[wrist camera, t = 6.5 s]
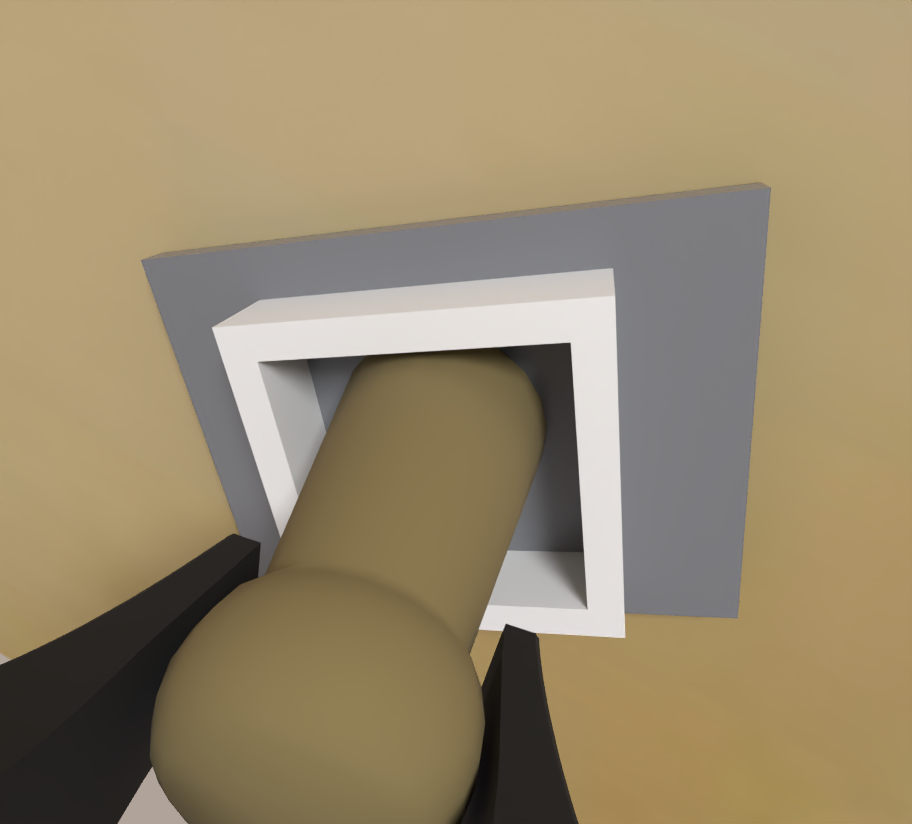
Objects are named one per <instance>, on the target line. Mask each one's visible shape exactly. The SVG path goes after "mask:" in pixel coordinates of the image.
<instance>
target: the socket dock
mask: <svg viewBox="0 0 912 824" xmlns="http://www.w3.org/2000/svg"><path fill="white" fill-rule="evenodd" d="M770 192H771V187H769V186H767V185H765V184H763V183H753V184H744V185H735V186H727V187H718V188H710V189H701V190H693V191H684V192H676V193H667V194H659V195H650V196H642V197H633V198H625V199H616V200H608V201H599V202H591V203H582V204H574V205H565V206H557V207H548V208H540V209H531V210H523V211H514V212H506V213H497V214H489V215H480V216H472V217H463V218H455V219H446V220H438V221H429V222H421V223H412V224H404V225H395V226H387V227H378V228H370V229H361V230H353V231H344V232H336V233H327V234H319V235H310V236H302V237H293V238H285V239H276V240H268V241H259V242H251V243H242V244H234V245H225V246H217V247H208V248H200V249H191V250H183V251H174V252H166V253H160V254H158V255H155V256H152V257H149V258H146V259H143V260H141V262H142V265H143V267H144V270H145V273H146V276H147V278H148V281H149V284H150V287H151V290H152V292H153V295H154V298H155V301H156V303H157V306H158V309H159V312H160V314H161V317H162V320H163V323H164V325H165V328H166V331H167V334H168V337H169V339H170V342H171V345H172V348H173V350H174V353H175V356H176V359H177V361H178V364H179V367H180V370H181V373H182V375H183V378H184V381H185V384H186V386H187V389H188V392H189V395H190V397H191V400H192V403H193V406H194V409H195V411H196V414H197V417H198V420H199V422H200V425H201V428H202V431H203V433H204V436H205V439H206V442H207V444H208V447H209V450H210V453H211V456H212V458H213V461H214V464H215V467H216V469H217V472H218V475H219V478H220V480H221V483H222V486H223V489H224V492H225V494H226V497H227V500H228V503H229V505H230V508H231V511H232V514H233V516H234V519H235V522H236V525H237V528H238V530H239V533H240V536H242V537H245V538H248V539H251V540H254V541H257V542H260V543H261V548H260V561H259V573H258V577H261V576H264V575H265V573H266V571H267V568H268V566H269V564H270V562H271V559H272V557H273V555H274V552H275V550H276V548H277V545H278V543H279V541H280V538H281V536H282V534H283V532H284V529H285V527H286V525H287V522H288V520H289V518H290V515H291V513H292V511H293V508H294V506H295V504H296V501H297V499H298V497H299V495H300V492H301V490H302V488H303V485H304V483H305V481H306V478H307V476H308V474H309V471H310V469H311V467H312V465H313V462H314V460H315V458H316V455H317V453H318V451H319V448H320V446H321V444H322V441H323V439H324V437H325V434H326V432H327V430H328V428H329V425H330V423H331V421H332V418H333V416H334V414H335V411H336V409H337V407H338V404H339V402H340V400H341V398H342V395H343V393H344V391H345V388H346V386H347V384H348V381H349V379H350V377H351V374H352V372H353V370H354V369H355V368H356V367H357V366H358V364H359V363H360V362H361V361H362V360H363V359H364V357H365V356H366V355H376V354H392V353H408V352H424V351H441V350H457V349H473V348H489V347H496V348H498V349H499V350H501V351H502V352H503V353H504V354H505V355H506V356H507V357H509V358H510V359H511V360H512V361H513V362H514V363H515V364H517V365H518V366H519V367H520V368H521V369H522V370H523V371H525V373H526V375H527V376H528V378H529V380H530V381H531V383H532V385H533V386H534V388H535V390H536V391H537V393H538V395H539V396H540V398H541V401H542V406H543V411H544V415H545V420H546V425H547V432H546V437H545V443H544V449H543V455H542V458H541V461H540V463H539V466H538V469H537V472H536V474H535V477H534V480H533V483H532V485H531V488H530V491H529V493H528V496H527V499H526V502H525V504H524V507H523V510H522V513H521V515H520V518H519V521H518V523H517V526H516V529H515V532H514V534H513V537H512V540H511V543H510V545H509V548H508V551H507V554H506V556H505V559H504V562H503V564H502V567H501V570H500V573H499V575H498V578H497V581H496V584H495V586H494V589H493V592H492V594H491V597H490V600H489V603H488V605H487V608H486V611H485V614H484V616H483V619H482V622H481V625H480V627H479V630H496V631H503V629H504V627H505V624H509V625H512V626H515V627H518V628H521V629H524V630H527V631H530V632H533V633H549V634H566V635H584V636H601V637H619V638H625V616H624V613H634V614H655V615H676V616H698V617H719V618H738V607H739V594H740V581H741V568H742V555H743V542H744V529H745V516H746V503H747V490H748V478H749V465H750V452H751V439H752V426H753V413H754V400H755V387H756V374H757V361H758V348H759V335H760V322H761V309H762V296H763V283H764V270H765V257H766V244H767V231H768V218H769V205H770Z"/></svg>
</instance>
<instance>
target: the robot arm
mask: <svg viewBox="0 0 912 824" xmlns="http://www.w3.org/2000/svg"><path fill="white" fill-rule="evenodd" d="M260 548H261V543H260V542H257V541H254V540H251V539H248V538H245V537H242V536H239V535H236V534H232V535H230V536H228V537H226V538H225V539H223V540H222V541H220V542H219V543H217V544H216V545H214V546H213V547H211V548H210V549H208V550H207V551H205V552H204V553H202V554H201V555H199V556H198V557H196V558H195V559H193V560H192V561H190V562H189V563H187V564H185V565H184V566H182V567H181V568H179V569H178V570H176V571H175V572H173V573H171V574H170V575H168V576H167V577H165V578H163V579H162V580H160V581H159V582H157V583H155V584H154V585H152V586H150V587H149V588H147V589H146V590H144V591H142V592H141V593H139V594H137V595H136V596H134V597H132V598H131V599H129V600H127V601H126V602H124V603H122V604H120V605H118V606H117V607H115V608H113V609H111V610H109V611H108V612H106V613H104V614H102V615H101V616H99V617H97V618H95V619H93V620H92V621H90V622H88V623H86V624H84V625H82V626H81V627H79V628H77V629H75V630H73V631H71V632H69V633H67V634H65V635H63V636H61V637H59V638H57V639H55V640H53V641H51V642H49V643H47V644H45V645H43V646H41V647H39V648H37V649H34V650H32V651H30V652H28V653H26V654H24V655H22V656H20V657H17V658H15V659H13V660H10V661H8V662H6V663H4V664H1V665H0V824H118V822H119V820H120V818H121V817H122V815H123V813H124V812H125V810H126V808H127V807H128V805H129V803H130V802H131V800H132V798H133V797H134V795H135V793H136V792H137V790H138V788H139V787H140V785H141V783H142V782H143V780H144V778H145V777H146V775H147V774H148V772H149V771H150V769H151V768H152V763H151V760H150V740H151V722H152V717H153V711H154V706H155V701H156V696H157V693H158V691H159V688H160V685H161V683H162V680H163V678H164V675H165V673H166V670H167V667H168V665H169V662H170V660H171V658H172V657H173V655H174V654H175V653H176V651H177V650H178V648H179V647H180V646H181V644H182V643H183V642H184V640H185V639H186V637H187V636H188V635H189V633H190V632H191V630H192V629H193V628H194V627H195V626H196V625H197V624H198V623H199V622H200V621H201V620H202V619H203V618H204V617H205V616H206V615H207V614H208V613H209V612H210V611H211V610H212V609H213V608H214V607H215V606H216V605H217V604H218V603H219V602H220V601H222V600H223V599H224V598H225V597H226V596H227V595H229V594H230V593H231V592H232V591H233V590H234V589H236V588H237V587H238V586H239V585H240V584H243V583H245V582H248V581H251V580H253V579H256V578H258V573H259V561H260ZM481 688H482V697H483V707H484V717H485V727H484V735H483V742H482V749H481V756H480V763H479V769H478V776H477V782H476V788H475V791H474V793H473V796H472V798H471V801H470V803H469V805H468V808H467V810H466V813H465V815H464V818H463V820H462V822H461V824H578V821H577V817H576V814H575V811H574V808H573V804H572V801H571V798H570V794H569V791H568V787H567V784H566V780H565V776H564V773H563V769H562V765H561V761H560V758H559V754H558V750H557V745H556V741H555V736H554V732H553V727H552V723H551V719H550V714H549V709H548V704H547V698H546V692H545V687H544V681H543V674H542V667H541V658H540V648H539V638H538V637H537V635H536V633H533V632H530V631H527V630H524V629H521V628H518V627H515V626H512V625H509V624H505V627H504V629H503V632H502V635H501V637H500V640H499V642H498V645H497V648H496V650H495V653H494V656H493V658H492V661H491V664H490V666H489V669H488V672H487V674H486V677H485V680H484V682H483V685H482V687H481Z"/></svg>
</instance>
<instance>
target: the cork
mask: <svg viewBox="0 0 912 824" xmlns="http://www.w3.org/2000/svg"><path fill="white" fill-rule="evenodd" d="M546 432H547V425H546V420H545V415H544V411H543V406H542V401H541V398H540V396H539V395H538V393H537V391H536V390H535V388H534V386H533V385H532V383H531V381H530V380H529V378H528V376H527V375H526V373H525V371H523V370H522V369H521V368H520V367H519V366H518V365H517V364H515V363H514V362H513V361H512V360H511V359H510V358H509V357H507V356H506V355H505V354H504V353H503V352H502V351H501V350H499V349H498V348H496V347H489V348H473V349H457V350H441V351H424V352H408V353H392V354H376V355H366V356H365V357H364V359H363V360H362V361H361V362H360V363H359V364H358V366H357V367H356V368H355V369H354V370H353V372H352V374H351V377H350V379H349V381H348V384H347V386H346V388H345V391H344V393H343V395H342V398H341V400H340V402H339V404H338V407H337V409H336V411H335V414H334V416H333V418H332V421H331V423H330V425H329V428H328V430H327V432H326V434H325V437H324V439H323V441H322V444H321V446H320V448H319V451H318V453H317V455H316V458H315V460H314V462H313V465H312V467H311V469H310V471H309V474H308V476H307V478H306V481H305V483H304V485H303V488H302V490H301V492H300V495H299V497H298V499H297V501H296V504H295V506H294V508H293V511H292V513H291V515H290V518H289V520H288V522H287V525H286V527H285V529H284V532H283V534H282V536H281V538H280V541H279V543H278V545H277V548H276V550H275V552H274V555H273V557H272V559H271V562H270V564H269V566H268V568H267V571H266V573H265V575H264V576H261V577H258V578H256V579H253V580H251V581H248V582H245V583H243V584H240V585H239V586H238V587H237V588H236V589H234V590H233V591H232V592H231V593H230V594H229V595H227V596H226V597H225V598H224V599H223V600H222V601H220V602H219V603H218V604H217V605H216V606H215V607H214V608H213V609H212V610H211V611H210V612H209V613H208V614H207V615H206V616H205V617H204V618H203V619H202V620H201V621H200V622H199V623H198V624H197V625H196V626H195V627H194V628H193V629H192V630H191V632H190V633H189V635H188V636H187V637H186V639H185V640H184V642H183V643H182V644H181V646H180V647H179V648H178V650H177V651H176V653H175V654H174V655H173V657H172V658H171V660H170V662H169V665H168V667H167V670H166V673H165V675H164V678H163V680H162V683H161V685H160V688H159V691H158V693H157V696H156V701H155V706H154V711H153V717H152V722H151V740H150V760H151V763H152V766H153V769H154V771H155V774H156V777H157V780H158V782H159V784H160V786H161V788H162V789H163V791H164V793H165V794H166V796H167V798H168V800H169V801H170V802H171V804H172V805H173V806H174V807H175V808H176V810H177V811H178V812H179V813H180V815H181V816H182V817H183V818H184V820H185V821H186V822H187V823H188V824H461V822H462V820H463V818H464V815H465V813H466V810H467V808H468V805H469V803H470V801H471V798H472V796H473V793H474V791H475V788H476V782H477V776H478V769H479V763H480V756H481V749H482V742H483V735H484V727H485V717H484V707H483V697H482V688H481V685H480V682H479V679H478V676H477V673H476V670H475V667H474V665H473V662H472V659H471V656H470V652H471V649H472V646H473V644H474V641H475V638H476V635H477V633H478V630H479V627H480V625H481V622H482V619H483V616H484V614H485V611H486V608H487V605H488V603H489V600H490V597H491V594H492V592H493V589H494V586H495V584H496V581H497V578H498V575H499V573H500V570H501V567H502V564H503V562H504V559H505V556H506V554H507V551H508V548H509V545H510V543H511V540H512V537H513V534H514V532H515V529H516V526H517V523H518V521H519V518H520V515H521V513H522V510H523V507H524V504H525V502H526V499H527V496H528V493H529V491H530V488H531V485H532V483H533V480H534V477H535V474H536V472H537V469H538V466H539V463H540V461H541V458H542V455H543V449H544V443H545V437H546Z"/></svg>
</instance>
